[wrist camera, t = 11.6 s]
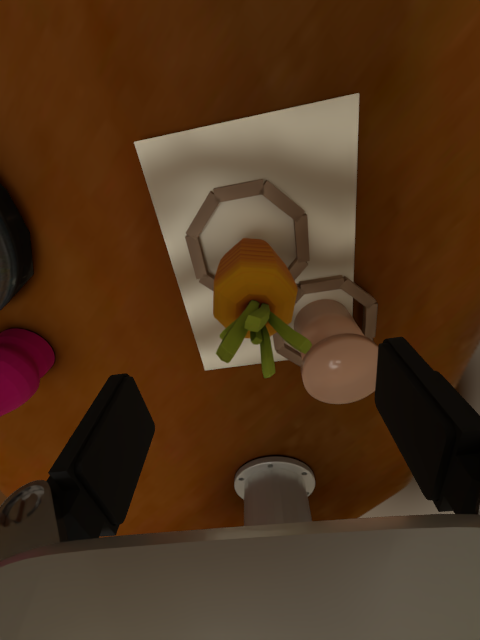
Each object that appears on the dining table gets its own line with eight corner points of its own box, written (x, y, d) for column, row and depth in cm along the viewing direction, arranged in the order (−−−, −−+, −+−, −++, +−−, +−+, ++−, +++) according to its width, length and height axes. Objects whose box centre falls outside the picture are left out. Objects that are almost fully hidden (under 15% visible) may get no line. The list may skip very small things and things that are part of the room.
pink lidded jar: (353, 345, 30) (383, 399, 23) (292, 353, 30) (305, 407, 24) (355, 290, 26) (391, 335, 20) (286, 300, 27) (300, 347, 21)
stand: (365, 348, 32) (373, 361, 30) (208, 368, 33) (206, 382, 31) (380, 90, 20) (395, 83, 18) (140, 142, 22) (130, 141, 20)
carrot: (289, 234, 24) (345, 332, 11) (260, 283, 26) (280, 411, 13) (236, 206, 23) (230, 279, 10) (211, 260, 25) (180, 375, 12)
